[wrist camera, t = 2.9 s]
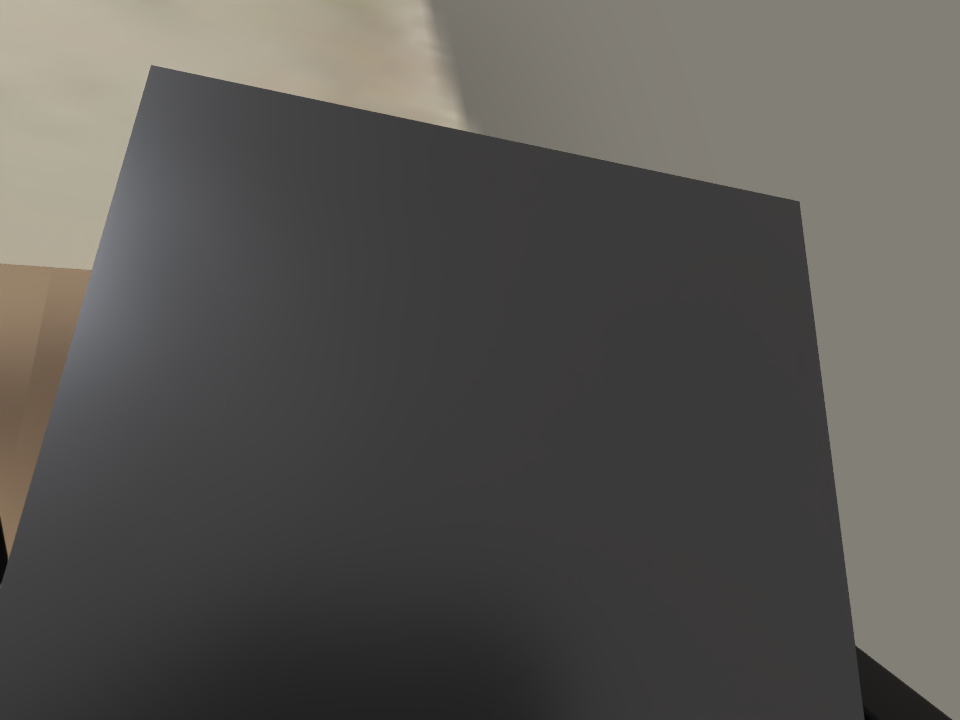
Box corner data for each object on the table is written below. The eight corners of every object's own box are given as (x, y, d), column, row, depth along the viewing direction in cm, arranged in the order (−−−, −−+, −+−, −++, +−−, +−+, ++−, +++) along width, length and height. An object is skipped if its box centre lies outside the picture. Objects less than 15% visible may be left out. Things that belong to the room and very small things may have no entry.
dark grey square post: (427, 619, 16) (894, 957, 3) (268, 613, 15) (-136, 1052, 2) (439, 466, 17) (799, 201, 4) (293, 453, 16) (150, 63, 3)
